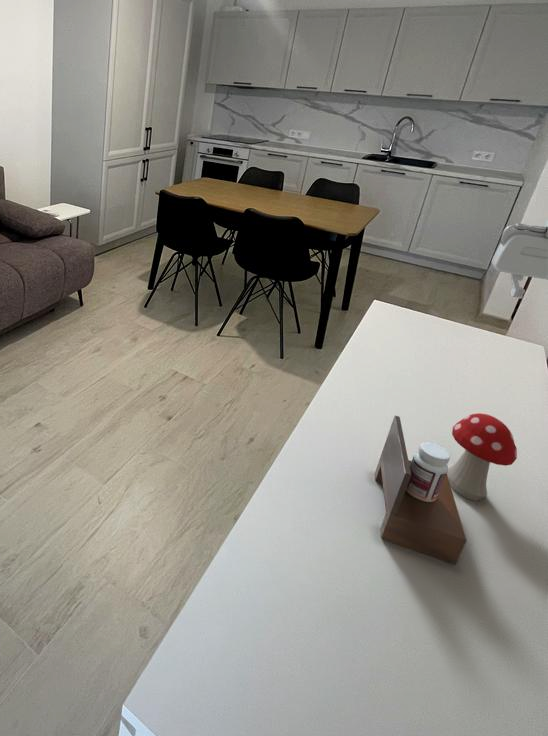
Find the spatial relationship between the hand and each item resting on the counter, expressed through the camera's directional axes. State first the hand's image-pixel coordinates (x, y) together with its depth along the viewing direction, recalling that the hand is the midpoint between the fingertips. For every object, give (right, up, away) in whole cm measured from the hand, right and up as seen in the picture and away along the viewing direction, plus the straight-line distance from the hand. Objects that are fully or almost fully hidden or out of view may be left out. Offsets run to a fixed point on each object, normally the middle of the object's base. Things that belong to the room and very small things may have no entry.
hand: (546, 302), depth 93 cm
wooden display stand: (-32, -35, -11) cm, 49 cm away
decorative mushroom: (-18, -34, -3) cm, 38 cm away
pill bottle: (-32, -31, -12) cm, 46 cm away
